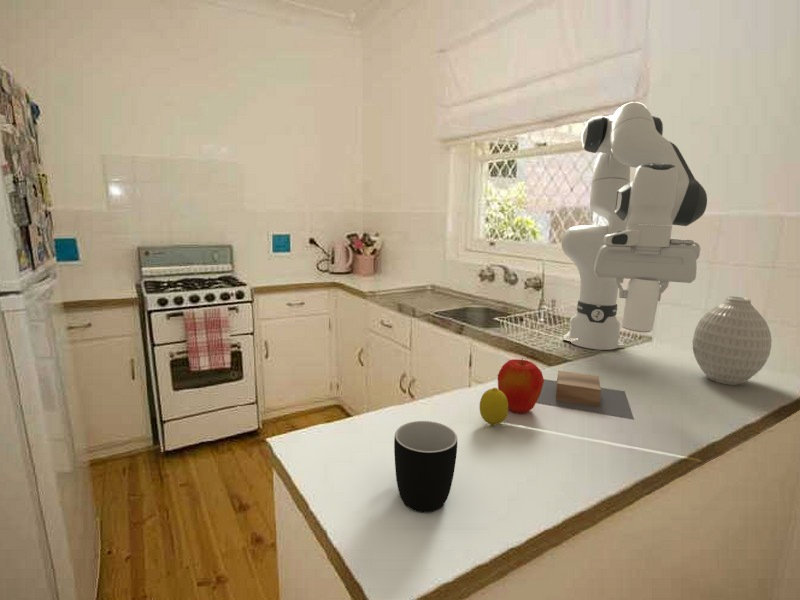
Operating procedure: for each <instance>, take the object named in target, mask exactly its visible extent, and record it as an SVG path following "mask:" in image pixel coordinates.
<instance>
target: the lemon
mask: <svg viewBox="0 0 800 600" xmlns="http://www.w3.org/2000/svg"><path fill="white" fill-rule="evenodd" d="M508 412H509V408H508V401H507V398H506V396H505V394H504V393H503V392H502V391H500V390H498V387H492V388H490V389H487V390H486V391H484V393H483V394H482V396H481V398H480V401H479V414H480V416H481V418H482V419H483V420H484V422H485V423H487V424H489V425H490V426H492V427H494V426H496V425H499V424H501V423H503V422H504V421H505V420H506V419H507V416H508Z"/></svg>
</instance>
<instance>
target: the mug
mask: <svg viewBox="0 0 800 600" xmlns="http://www.w3.org/2000/svg"><path fill="white" fill-rule="evenodd" d="M393 443H394V447H393V449H394V450H393V451H394V467H395V468H394V469H395V478H396V485H397V490H398V494H399V496H400V499H401V501H402V503H403V504H404V505H405V506H406V507H408V508H409V509H411V510H412V511H414V512H417V513H432V512H436V511H438V510H440V509H441V508H442V507H443V506H444V505H445V504H446V501H447V499H448V497H449V495H450V492H451V489H452V488H451V487H452V484H453V480H454V474H455V468H456V462H457V461H456V460H457V452H458V436H457V434H456V432H455V431H454V430H453V429H452V428H451V427H449V426H447V425H445V424H443V423H441V422H440V423H439V422H436V421H430V420H428V421H427V420H417V421H410V422H407V423H405V424H402V425H401V426H400V427H398V428H397V429H396V431H395V433H394V440H393Z"/></svg>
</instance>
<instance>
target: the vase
mask: <svg viewBox="0 0 800 600" xmlns="http://www.w3.org/2000/svg"><path fill="white" fill-rule="evenodd" d="M693 333H694V334H693V336H692V351H693V355H694V358H695V361H696V362H697V364H698V366H699V368H700V370H701V371H702V372H703V374H705V376H706V377H707V378H708V379H709V380H710V381H712V382H713V381H714V382H716V383H718V384H723V385H731V386H735V385H736V386H737V385H740V384H742V383H745V382H746V381H748V380H750V379H751V378H753V377H754V376H756V374H758V372H760V371H761V370H762V369H763V367H764V366H765V364H766V363H767V361H768V359H769V357H770V354H771V350H772V341H773V340H772V334H771V333H772V332H771V331H770V328H769V324H768V323H767V321H766V319H765V318H764V317H763V315H762V314H761V313H760V312H759V311H758V310H757V309H756V308H755V307H754V306H753V305H752V301H751V299H750V298H748V297H741V296H732V295H731V296H729V295H728V296H726V298H725V300H724V301H723V302H721V303H720V304H717V305H716V306H714V307H713V308H712V309H710V310H709V311H707V312H706V313H705V314H704V315H703V316H702V317H701V318H700V320H699V321H698V323H697V325H696V326H695V329H694V332H693Z"/></svg>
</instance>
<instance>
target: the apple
mask: <svg viewBox="0 0 800 600" xmlns="http://www.w3.org/2000/svg"><path fill="white" fill-rule="evenodd" d="M544 379H545V378H544V376H543V372H542V370H541V369H540V368H539V367H538V366H537V365H536V364H535V363H533V362H532V361H530V360H527V359H526V360H525V359H524V358H523V357H522V358H521V359H517V358H514V359H513V358H512V359H509V360H508V361H506V362H505V363H504V364H503V365H502V366H501V368H500V370H499V372H498V373H497V389H498V390H500V391H502V392H503V393H504V394H505V396H506V398H507V401H508V410H510V411H511V412H513V413H516V414H526V413H528V412H530V411H531V410H533V409H534V408H535V406H536V404H537V403H536V402H537V400H538V398H539V396H540V394H541V390H542V386H543V383H544Z"/></svg>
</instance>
